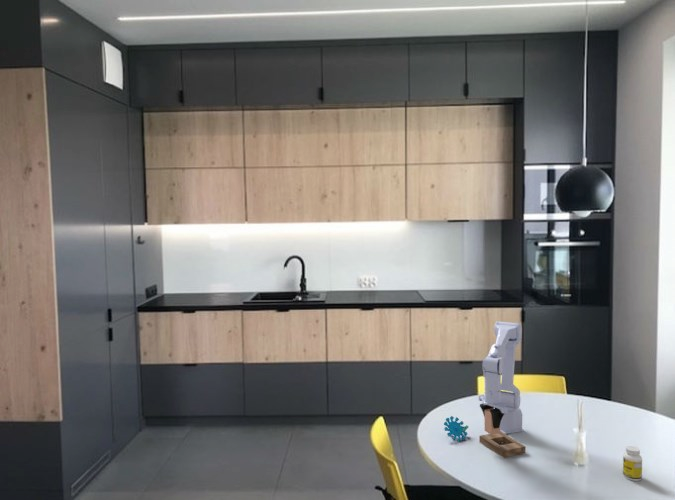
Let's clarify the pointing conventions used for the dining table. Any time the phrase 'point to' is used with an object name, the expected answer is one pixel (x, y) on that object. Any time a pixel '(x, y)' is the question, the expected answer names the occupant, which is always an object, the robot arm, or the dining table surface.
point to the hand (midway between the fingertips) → (492, 425)
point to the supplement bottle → (632, 464)
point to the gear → (455, 428)
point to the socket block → (502, 450)
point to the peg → (490, 423)
